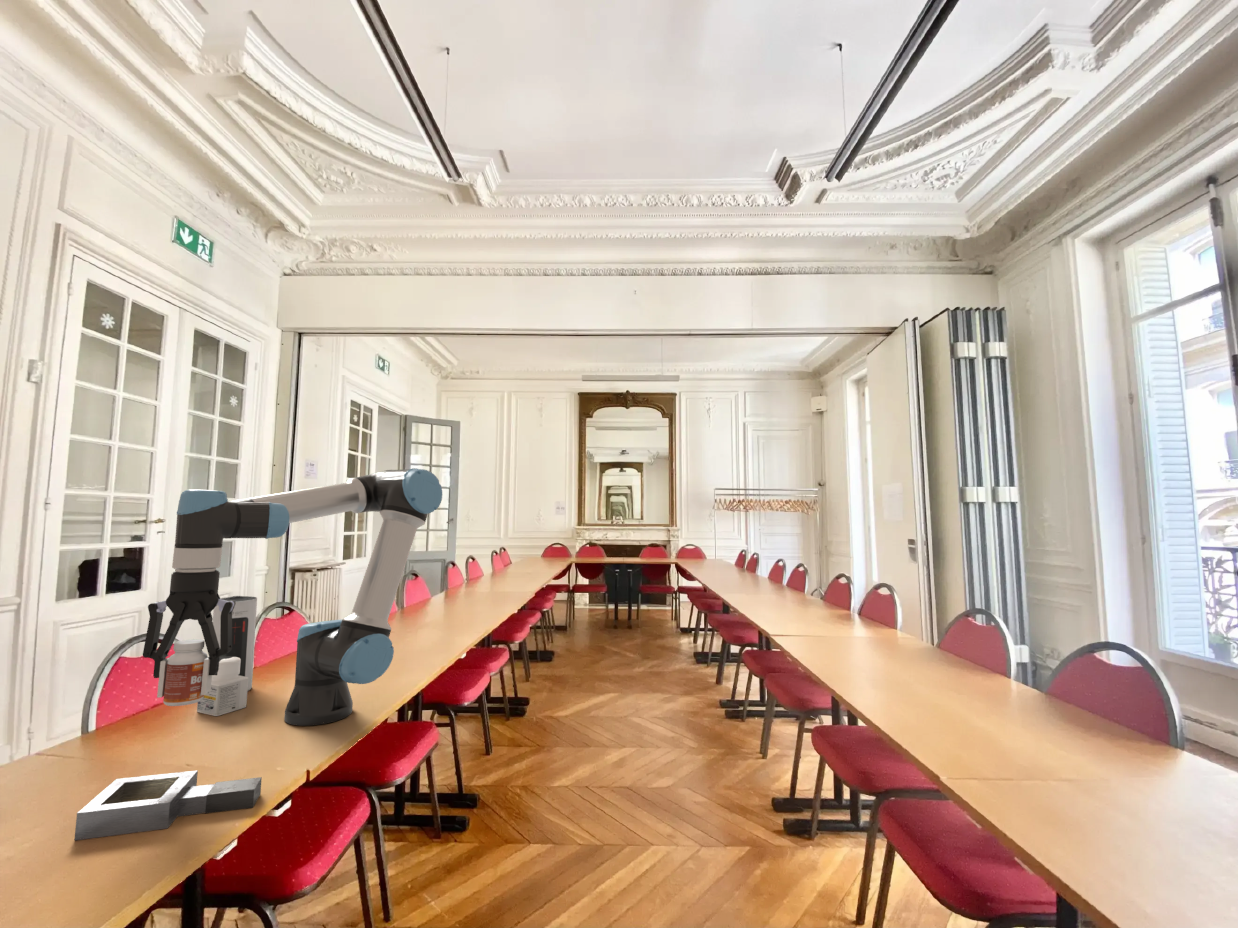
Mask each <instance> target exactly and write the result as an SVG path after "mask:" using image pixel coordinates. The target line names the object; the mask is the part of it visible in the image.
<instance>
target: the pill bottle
mask: <svg viewBox="0 0 1238 928" xmlns="http://www.w3.org/2000/svg"><path fill="white" fill-rule="evenodd" d="M204 648H205V640H204V639H201V638H200V639H194V638H193V639H183V640H178V641H175V642H173V652H174V653H173V654H171V655H170V656H169V657H168V658H169V659H168V662H167V671H166V681H165V690H164V696H163V700H162V701H163V704H164V705H165V706H168V707H182V706H183V707H184V706H188V705H193V704H197V703H198V702H199V701H201V700H202V699H203V698H204V695H201V687H202V676H203V666H204V659H206V658H207V657H209V655H208V653H206V652H205V651H203V649H204Z"/></svg>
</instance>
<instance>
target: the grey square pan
mask: <svg viewBox="0 0 1238 928" xmlns="http://www.w3.org/2000/svg"><path fill="white" fill-rule="evenodd" d="M198 773H199V772H198V770H189V771H187V770H186V771H178V772H171V773H170V772H169V773H158V774H151V775H141V776H133V777H122V778H115V780H113V782H111V783H109V785H107V786H106V788H104V789H103V790H101V792H100V793H98V794H97V795H96V796H95V797H94V798H93V799H91V800H90V801H89V802H88V803H87V804H86V805H84V806H83V808H81V809H80V810H79V811H77V812H76V820H75V821H76V822H75V829H74V831H75V832H74V839H73V840H74V841H81V840H88V839H89V840H90V839H95V838H105V837H113V836H120V835H126V834H135V833H142V832H150V831H157V830H158V831H159V830H164V829H165V830H166V829H168V828H169V827H171V825H172V824H173V823H174V822H175V820H176V819H177V817H184V816H192V815H200V814H211V813H220V812H227V811H237V810H242V809H243V810H244V809H252V808H254V806H255V804H256V803H257V801H258V799H259V798H260V796H261V795H262V794H261V793H262V776H261V777H251V778H241V779H234V780H232V779H231V780H224V781H216V782H215V783H213V784H211V783H210V784H203V785H202V784H201V785H197V783H198Z"/></svg>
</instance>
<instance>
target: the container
mask: <svg viewBox="0 0 1238 928" xmlns="http://www.w3.org/2000/svg"><path fill="white" fill-rule="evenodd" d="M240 663H241V659H240V658H239V657H236V656H224V657H220V659H219V670H218V672H217V674H215V675H212V682H211V691H210V692H208V693H207V694H206V695H204V698H203V699H202V700H201V701H199V702H197V703H196V705H197V706H196V712H197V713H199V714H203V715H204V714H205V715H208V716H214V717H219V716H223V715H225V714H230V713H232V712H235V711H239V710H242V709H245V708H246V707H247V701H248V700H247V699H248V691H247V690H248V677H245V676H239V674H240Z"/></svg>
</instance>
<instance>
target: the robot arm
mask: <svg viewBox="0 0 1238 928" xmlns="http://www.w3.org/2000/svg"><path fill="white" fill-rule="evenodd" d="M442 500H443V487H442V485H441V484H440V480H439V478H438V477H437V476H436V475H435V474H434V472H431V471H430V470H428V469H424V468H423V469H422V468H414V467H413V468H409V469H387V470H381V471H377V472H374V473H370V474H365V475H362V476H356V477H350V478H348V479H346V482H342V483H336V484H330V485H323V486H316V487H312V488H311V487H310V488H305V489H299V490H298V489H296V490H292V491H286V492H284V491H283V492H279V493H273V494H272V493H271V494H266V495H260V496H259V495H258V496H254V497H248V498H241V499H234V500H229V498H228V494H227V492H225V491H224V490H214V489H213V490H211V489H186V490H183V491H182V492H181V493H180V496H179V500H178V505H177V511H176V526H175V537H174V538H175V541H174V546H173V547H174V548H173V556H172V565H171V567H172V569H174V570H175V571H173V572H172V573H171V575H170V585H169V595H168V596H167V597H166V600H163V601H155V602H151V603H149V604H148V605H147V609H148V614H149V618H148V619H149V620H148V624H147V628H146V629H147V631H146V636H145V641H144V645H143V651H142V657H143V658H146V659H148V658H149V659H152V660H153V662H154V663H153V664H154V665H153V678H154V679H158V683H157V684H158V685H157V691H156V692H157V693H156V694H157V696H156V699H157V698H158V699H160V698H164V690H165V681H166V671H167V662H168V659H169V657H168V656H169V653H170V650H171V649H172V646H173V645H174V643H175V642H174V641H175V639H176V637H177V635H178V634H179V631H180V629H181V627H182V625H183V623H184V622H185V621H186V620H193V621H197V623H198V625H199V626H200V629H201V632H202V633H201V634H202V636H203V640H204V641H205V643H204V645H205V646H206V649H207V655H208V657H207V658H206V659H204V666H203V676H202V687H201V695H206V694H207V693H208V692H210V691H211V682H212V675H215V674H217V672H218V670H219V659H220V656H221V655H225V654H227V653H228V652H230V651H231V650H232V612H233V609H234V607H235V604H236V603H235V601H233V600H232V601H226V600H222V599H221V596H220V595H219V587H220V586H219V584H220V575H221V574H220V571H219V570H217V569H218V568H220V567H221V563H222V562H221V561H222V553H223V542H224V539H265V540H267V539H273V538H276V539H277V538H280V537H283V536H284V535H285V534H286V532H287V531H288V529H289V524H292V523H296V522H297V523H298V522H301V521H307V520H312V519H317V518H323V517H328V516H333V515H338V514H342V513H346V512H352V513H354V514H361V513H362V514H363V513H368V512H379V515H380V516H381V518H382V523H381V527H380V529H379V531H378V535H377V538H376V541H375V544H374V546H373V550H372V553H371V555H370V558H369V562H368V564H367V566H366V570H365V573H364V576H363V578H362V581H361V585H360V587H359V591H358V593H357V595H356V598H355V602H354V605H353V608H352V611H351V613H349V614H348V615H347V616H345V617H343V618H342V619H332V620H331V619H330V620H324V621H317V622H310V623H306V624H303V625H301V627H300V628H299V630H298V633H297V638H296V643H297V644H296V659H295V660H296V661H295V676H294V677H295V678H294V687H293V690H292V692H291V694H290V697H289V699H288V701H287V704H286V707H285V710H284V717H283V719H284V723H286V724H289V725H293V726H299V727H300V726H302V727H303V726H304V727H305V726H306V727H307V726H308V727H309V726H317V725H325V724H330V723H334V722H337V721H340V720H342V719H345V718H347V717H349V716H350V715H351V714H352V713H353V706H354V705H353V704H354V702H353V699H352V695H351V692H350V687H349V685H348V684H358V685H367V684H370V683H373V682H375V681H376V680H377V679H379V678H380V677H382V675H384V674H385V673H386V672H387V670H388V669H389V667H390V665H391V663H392V662H393V658H394V653H395V649H394V646H393V642H392V640H391V639H390V635H391V633H392V632H391V631H392V627H391V625H390V624H389V617H390V614H391V612H392V608H393V606H394V601H395V598H396V595H397V593H398V590H399V589H398V588H399V585H400V582H401V579H402V578H403V577H402V576H403V574H404V570H405V566H406V565H407V560H408V558H409V554H410V551H411V549H412V546H413V543H414V539H415V536H416V532H417V530H418V529H419V528H420V527H423V526H424V525H425V524H426V521H427V517H428V515H429V514H431V513H434V512H435V510H438V508H439V507H440V505H441V503H442ZM217 605H218V606H219V611H220V612H221V629H220V647H219V643H218V640H217V636H216V633H215V629H214V626H213V614H212V611H213V610H214V608H215V607H216V606H217ZM167 608H168V609H169V610H170V612H171V613H172V616H171V618H170V620H169V624H168V627H167V629H166V631H165V633H164V634H163V637H162V639H161V642H160V644H159V640H160V634H161V630H162V629H161V628H162V625H163V624H162V623H163V619H164V612H166V610H167ZM158 644H159V646H158Z"/></svg>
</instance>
